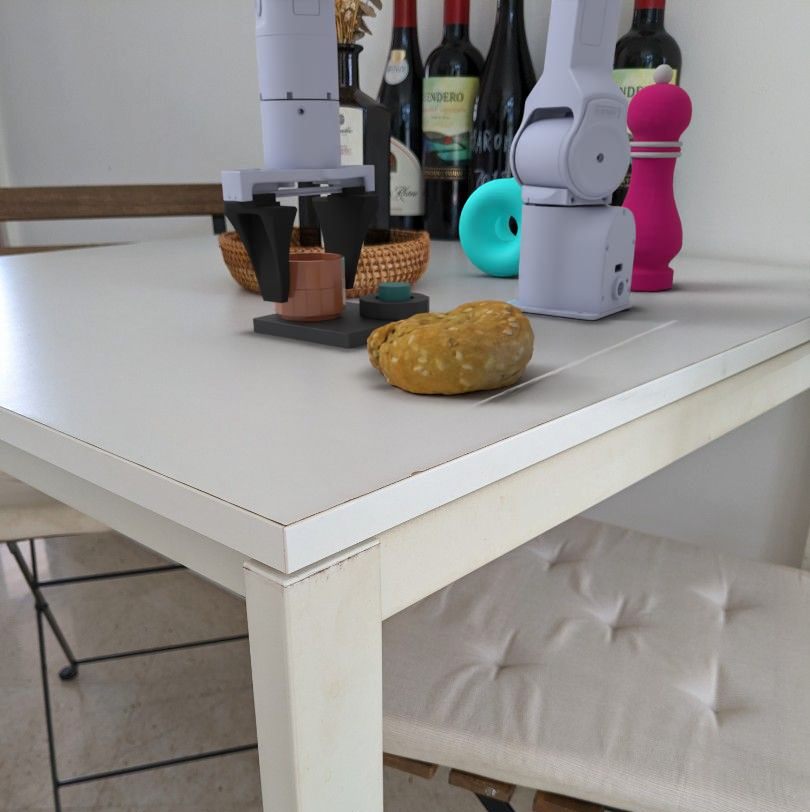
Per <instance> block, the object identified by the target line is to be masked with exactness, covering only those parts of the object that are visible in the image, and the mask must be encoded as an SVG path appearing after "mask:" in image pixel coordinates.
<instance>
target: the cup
mask: <svg viewBox="0 0 810 812" xmlns="http://www.w3.org/2000/svg"><path fill="white" fill-rule="evenodd" d="M289 273H290V290H289V298H288V302H285V303H276V302H273V307H274V312H275V314H276V313H277V314H280V317H281V318H283V319H286V320H292V321H323V320H330V319H334V318H337V317H339V316H341V313H342V312H344V311H345V310H346V302H347V299H346V298H347V297H346V295H347V293H346V289H345V262H344V256H343V255H341V254H335V253H325V252H323V251H322V252H321V251H320V252H319V251H318V252H315V251H314V252H313V251H307V252H305V251H303V252H290V253H289Z"/></svg>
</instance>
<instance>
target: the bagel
mask: <svg viewBox="0 0 810 812" xmlns="http://www.w3.org/2000/svg"><path fill="white" fill-rule="evenodd" d="M367 343H368V344H366V348H367V354H368V359H369V362H370V364H371V366H372V367H373V368H375V369H377V370H379V372H380V373H382V374H383V376H384V378H386V379H387V380H386V381H387V383H388V384H390V385H392V386H395V387H398V388H400V389H402V390H404V391H406V392H410V393H413V394H426V395H434V394H437V395H438V394H442V395H446V396H449V395H458V394H464V393H467V392H475V391H483V390H484V391H488V390H495V389H497V390H498V389H500V388H504V387H508V386H512V385H513V384H515V383H517V382H518V381H519V380H520V378H521V376H523V374H524V372H525V371H526V367H527V365H528V364H529V363H530V362H531V360H532V358H533V356H534V343H535V333H534V330H533V328H532V326H531V320H530V319H529V318H528V317H526V316H525V315H524V314H523V312H522V311H521V309H519V308H518V307H515V306H513V305H510V304H508V303H506V301H500V300H493V299H487V300H479V301H473V302H467V303H462V304H461V305H458V307H456V308H454V309H452V310H450V311H447V312H429V313H421V314H416V315H414V316H412V317H410V318H408V319H406V320H401V321H398V322H391V323H390V324H387V325H385V326H383V327H380V328H377V329H376V330H374V331H373V332H372V333H371V335H370V337H369V338H368V339H367Z"/></svg>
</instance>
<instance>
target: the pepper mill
mask: <svg viewBox="0 0 810 812" xmlns="http://www.w3.org/2000/svg"><path fill="white" fill-rule="evenodd" d="M652 77H653V78H652V79H653V81H654V83H653V84H650V85H647V86H645V87H643V88H641V89H639V90H638V91H636V93H635V94H634V95H633V96H632V98H631V99H630V101H629V105H628V111H627V121H626V123H627V130H628V131H629V132H630V133H631V135H632V138H633V141H630V149H631V153H630V158H631V175H630V179H629V180H630V181H629V187H628V189H627V192H626V195H625V198H624V200H623V203H622V205H621V207H625V208H628V209H629V210H630V211H631V212H632V213H633V216H634V220H635V227H636V239H635V249H634V259H633V268H632V278H631V288H630V291H631V292H632V291H633V292H660V291H666V290H667V291H668V290H670V289H671V288H672V287H673V283H674V282H673V281H674V274H675V270H674V269H673V268H672V267H671V266H670V264H671V262H672V261H673V260H674V259H675V258H676V257H677V255H678V254H679V253H680V252H681V250H682V248H683V240H684V239H683V236H684V231H683V225H682V224H683V223H682V221H681V218H680V217H681V216H680V214H679V210H678V206H677V203H676V200H675V192H674V178H675V177H674V175H675V169H676V164H677V159H678V158H681V157H682V154H683V153H682V152H681V151H682V148H681V147H683V145H684V143H683V141H682V140H681V141H680V139H681V136H682V135H683V133H684V132H685V131H686V130H687V129H688V127H689V126H690V123H691V121H692V116H693V105H692V100H691V96H690V95H689V93H688V92H687V91H686V90H685V89H683V87H680V86H678V85H676V84H673V83H671V81H672V79H673V77H674V70H673V67H671V66H670V65H669V64H660V65H658V66H657V67H656V68H655V70H654V72H653V75H652Z"/></svg>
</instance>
